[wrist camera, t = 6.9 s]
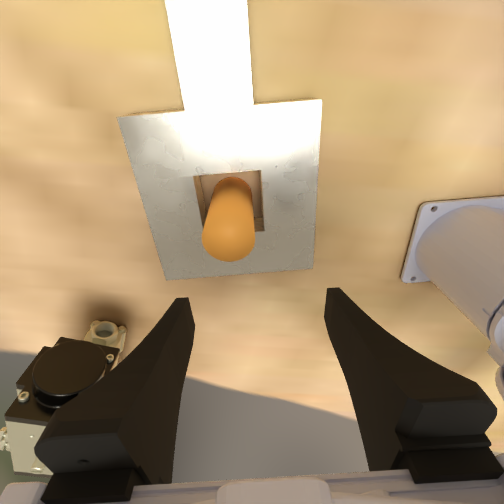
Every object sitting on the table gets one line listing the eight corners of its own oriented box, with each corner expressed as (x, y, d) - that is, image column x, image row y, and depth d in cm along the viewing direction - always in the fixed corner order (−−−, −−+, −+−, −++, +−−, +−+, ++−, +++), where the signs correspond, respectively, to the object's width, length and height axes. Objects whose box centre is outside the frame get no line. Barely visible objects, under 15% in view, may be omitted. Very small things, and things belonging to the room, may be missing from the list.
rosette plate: (319, -85, 14) (333, -117, 11) (306, 252, 24) (312, 268, 22) (83, -63, 14) (54, -91, 12) (172, 263, 24) (166, 280, 22)
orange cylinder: (248, 174, 20) (250, 210, 14) (254, 210, 22) (258, 257, 16) (209, 180, 20) (195, 219, 14) (218, 216, 22) (209, 265, 16)
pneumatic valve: (140, 299, 26) (76, 435, 16) (125, 370, 32) (70, 505, 22) (79, 284, 25) (-32, 420, 15) (74, 361, 31) (-9, 499, 20)
